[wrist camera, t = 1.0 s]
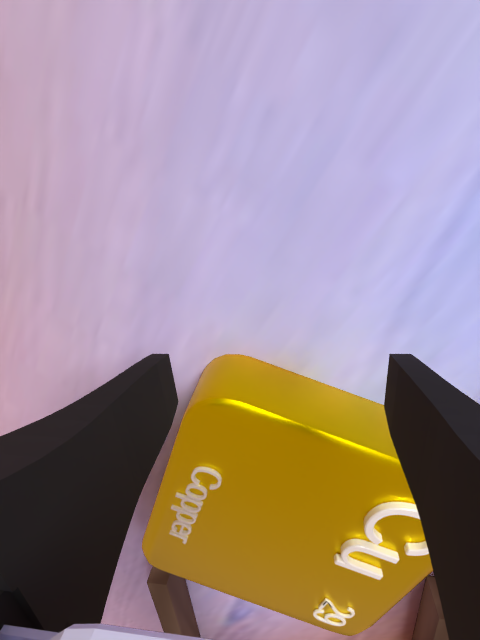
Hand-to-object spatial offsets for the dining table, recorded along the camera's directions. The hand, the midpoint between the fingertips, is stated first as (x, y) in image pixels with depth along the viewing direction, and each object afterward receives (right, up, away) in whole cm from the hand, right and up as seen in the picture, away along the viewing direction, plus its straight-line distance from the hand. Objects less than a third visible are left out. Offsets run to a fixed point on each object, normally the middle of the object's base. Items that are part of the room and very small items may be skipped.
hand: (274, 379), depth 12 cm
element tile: (+2, -8, +11) cm, 14 cm away
